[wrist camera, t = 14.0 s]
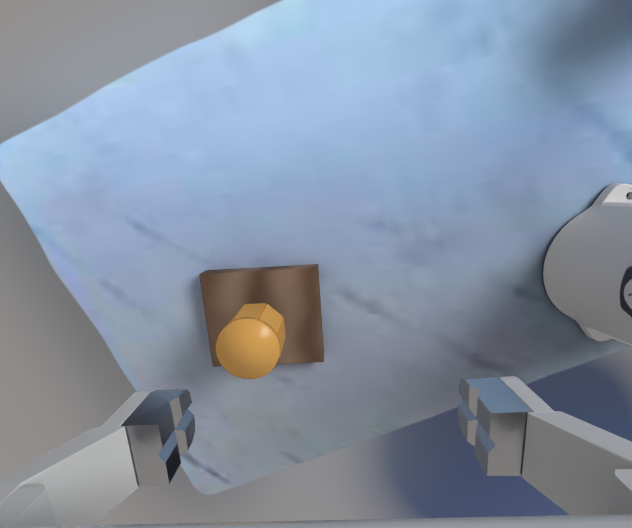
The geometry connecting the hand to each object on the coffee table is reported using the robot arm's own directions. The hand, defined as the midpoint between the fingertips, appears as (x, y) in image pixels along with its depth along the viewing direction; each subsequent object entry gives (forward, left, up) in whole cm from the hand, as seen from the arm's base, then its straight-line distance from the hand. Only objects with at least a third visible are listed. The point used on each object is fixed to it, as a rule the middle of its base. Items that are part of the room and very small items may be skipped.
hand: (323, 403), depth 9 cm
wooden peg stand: (+8, +8, -29) cm, 31 cm away
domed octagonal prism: (+8, +8, -24) cm, 27 cm away
